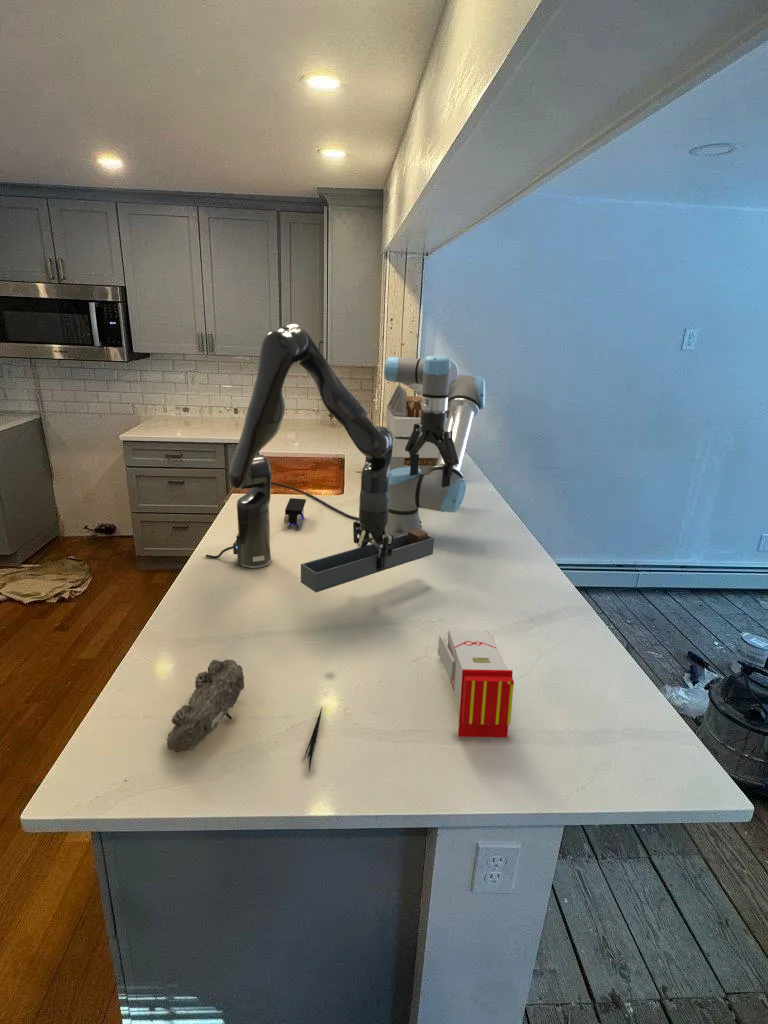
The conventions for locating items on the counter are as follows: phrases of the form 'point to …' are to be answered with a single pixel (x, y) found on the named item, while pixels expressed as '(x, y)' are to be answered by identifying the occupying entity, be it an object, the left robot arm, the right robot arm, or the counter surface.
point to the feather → (313, 740)
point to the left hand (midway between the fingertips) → (371, 564)
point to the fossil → (206, 705)
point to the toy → (478, 682)
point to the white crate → (407, 429)
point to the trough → (360, 563)
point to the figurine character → (294, 512)
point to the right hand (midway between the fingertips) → (429, 480)
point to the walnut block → (416, 536)
